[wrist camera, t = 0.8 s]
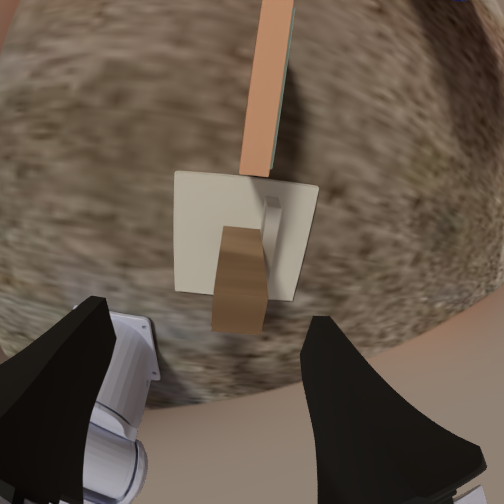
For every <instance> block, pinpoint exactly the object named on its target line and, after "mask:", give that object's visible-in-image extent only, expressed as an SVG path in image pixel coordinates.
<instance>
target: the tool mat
mask: <svg viewBox="0 0 504 504" xmlns="http://www.w3.org/2000/svg"><path fill="white" fill-rule="evenodd" d="M318 191H319V187H318V186H316V185H309V184H303V183H296V182H289V181H281V180H274V179H266V178H257V177H248V176H239V175H228V174H217V173H205V172H191V171H176V172H175V180H174V272H175V291H182V292H192V293H201V294H211V295H213V291H214V284H215V277H216V270H217V264H218V257H219V250H220V244H221V238H222V231H223V226H231V227H242V228H252V229H260V227H261V221H262V214H263V207H264V200H265V196H270V197H278V199H279V202H280V205H281V208H282V211H281V217H280V222H279V228H278V233H277V239H276V244H275V250H274V255H273V261H272V266H271V271H270V277H269V282H268V287H267V288H268V296H269V298H268V299H272V300H287V301H292V300H293V296H294V292H295V289H296V285H297V281H298V277H299V273H300V269H301V265H302V261H303V257H304V253H305V249H306V245H307V240H308V236H309V232H310V227H311V223H312V218H313V214H314V209H315V205H316V200H317V195H318Z"/></svg>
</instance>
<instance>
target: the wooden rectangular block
mask: <svg viewBox="0 0 504 504" xmlns="http://www.w3.org/2000/svg"><path fill="white" fill-rule="evenodd" d="M281 211H282V208H281V205H280V202H279V199H278V197H270V196H265V200H264V207H263V214H262V221H261V227H260V229H252V228H242V227H231V226H223V231H222V238H221V244H220V250H219V257H218V264H217V270H216V277H215V284H214V291H213V309H212V331H217V332H228V333H241V334H256V335H261V331H262V327H263V322H264V317H265V312H266V307H267V303H268V298H269V296H268V288H267V287H268V282H269V277H270V271H271V266H272V261H273V255H274V250H275V244H276V239H277V233H278V228H279V222H280V217H281Z"/></svg>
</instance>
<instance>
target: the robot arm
mask: <svg viewBox="0 0 504 504" xmlns="http://www.w3.org/2000/svg"><path fill="white" fill-rule="evenodd" d="M145 326H146V327H145ZM300 361H301V373H302V381H303V386H304V390H305V395H306V400H307V404H308V409H309V413H310V417H311V422H312V427H313V432H314V438H315V447H316V460H317V480H318V504H487V502H486V498H485V495H484V491H483V488H482V485H478V486H476V487H475V488H473V489H471V490H469V491H467V492H465V493H464V494H462V495H460V496H458V497H456V498H452V496H454V495H456V493H457V491H456V489H457V488H459V487H461V486H462V485H464V484H465V483H467V482H469V481H470V480H472V479H473V478H475V477H476V476H478V475H479V474H481V473H482V472H483V471H485V470H486V468H487V465H486V462H485V459H484V456H483V454H482V451H481V449H480V446H478V445H476V444H473V443H471V442H469V441H466V440H465V439H463V438H460V437H458V436H457V435H455V434H452V433H451V432H450V431H448V430H446V429H444V428H443V427H441V426H439V425H438V424H436V423H435V422H433V421H432V420H431V419H429V418H428V417H426V416H425V415H424V414H422V413H421V412H419V411H418V410H417V409H416V408H414V407H413V406H412V405H411V404H409V403H408V402H407V401H406V400H405V399H404V398H403V397H401V396H400V395H399V394H398V393H397V392H396V391H395V390H394V389H393V388H392V387H391V386H390V385H389V384H388V383H387V382H386V381H385V380H384V379H383V378H382V377H381V376H380V375H379V374H378V373H377V372H376V371H375V370H374V369H373V368H372V367H371V366H370V365H369V364H368V362H367V361H366V360H365V359H364V357H363V356H362V355H361V354H360V353H359V352H358V350H357V349H356V348H355V347H354V346H353V344H352V343H351V342H350V341H349V339H348V338H347V337H346V336H345V334H344V333H343V332H342V331H341V329H340V328H339V327H338V326H337V324H336V323H335V322H334V321H333V320H332V318H331V317H330V316H313V318H312V321H311V324H310V327H309V330H308V333H307V336H306V339H305V341H304V344H303V347H302V350H301V353H300ZM160 378H161V376H160V371H159V366H158V361H157V356H156V351H155V346H154V340H153V335H152V329H151V322H150V320H149V319H148V318H146V317H142V316H135V315H129V314H123V313H117V312H111V311H109V309H108V305H107V301H106V298H103V297H97V296H90V297H89V298H87V299H86V300H85V301H83V302H82V303H81V304H80V305H75V306H74V308H73V310H72V311H71V312H70V313H69V314H67V315H66V316H65V317H64V318H62V319H61V320H60V321H59V322H58V323H56V324H55V325H54V326H53V327H52V328H50V329H49V330H48V331H47V332H45V333H44V334H43V335H41V336H40V337H39V338H38V339H36V340H35V341H34V342H33V343H31V344H30V345H29V346H27V347H26V348H25V349H23V350H22V351H20V352H19V353H18V354H16V355H15V356H13V357H12V358H10V359H9V360H7V361H5V362H4V363H2V364H1V365H0V504H131V503H132V501H133V500H134V498H135V497H137V495H138V494H139V493H140V491H141V490H142V488H143V485H144V483H145V479H146V475H147V469H148V460H147V454H146V451H145V449H144V446H143V444H142V443H141V441H139V440H137V439H136V436H137V432H138V430H137V428H138V427H139V425H140V423H141V421H142V416H143V412H144V407H145V403H146V399H147V395H148V391H149V386H150V382H151V380H156V381H158V380H160Z"/></svg>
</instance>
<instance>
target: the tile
mask: <svg viewBox="0 0 504 504" xmlns="http://www.w3.org/2000/svg"><path fill="white" fill-rule="evenodd" d="M293 1H294V0H262V6H261V11H260V17H259V22H258V28H257V34H256V41H255V48H254V55H253V62H252V69H251V76H250V83H249V91H248V98H247V106H246V114H245V122H244V130H243V138H242V146H241V156H240V169H239V174H245V175H254V176H263V177H269V170H270V169H272V167H273V160H274V154H275V147H276V140H277V133H278V127H279V120H280V113H281V106H282V99H283V92H284V85H285V78H286V71H287V64H288V57H289V50H290V42H291V35H292V28H293V20H294V13H295V7H293Z"/></svg>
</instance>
